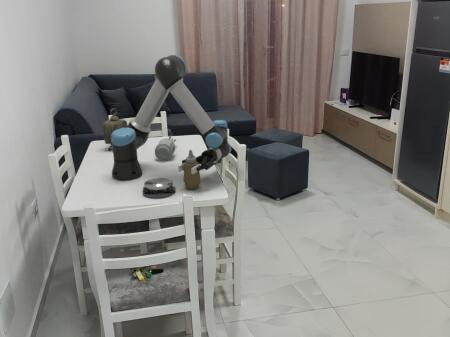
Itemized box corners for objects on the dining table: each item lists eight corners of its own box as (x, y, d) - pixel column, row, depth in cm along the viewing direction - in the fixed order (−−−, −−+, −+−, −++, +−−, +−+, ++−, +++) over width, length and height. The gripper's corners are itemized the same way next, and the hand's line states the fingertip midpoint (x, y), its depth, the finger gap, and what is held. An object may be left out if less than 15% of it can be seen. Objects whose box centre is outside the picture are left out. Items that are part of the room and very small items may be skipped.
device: (172, 161, 240) (171, 144, 237) (154, 161, 240) (153, 144, 237) (179, 146, 269) (178, 130, 266) (163, 146, 269) (162, 131, 266)
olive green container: (117, 144, 275) (113, 105, 267) (130, 145, 272) (126, 106, 264) (105, 151, 262) (100, 110, 254) (118, 152, 259) (113, 111, 251)
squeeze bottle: (189, 191, 197) (187, 154, 191) (180, 186, 203) (178, 149, 197) (204, 187, 201) (202, 150, 195) (195, 182, 207) (193, 146, 201)
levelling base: (140, 199, 191) (139, 189, 189) (145, 186, 205) (144, 177, 203) (174, 197, 191) (173, 188, 190) (177, 185, 205) (176, 176, 204)
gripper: (228, 166, 210) (204, 181, 191) (194, 160, 219) (168, 174, 200) (228, 151, 208) (203, 165, 189) (194, 146, 217) (167, 159, 198)
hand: (185, 170), depth 194 cm, fingers closed on squeeze bottle, 6 cm apart
